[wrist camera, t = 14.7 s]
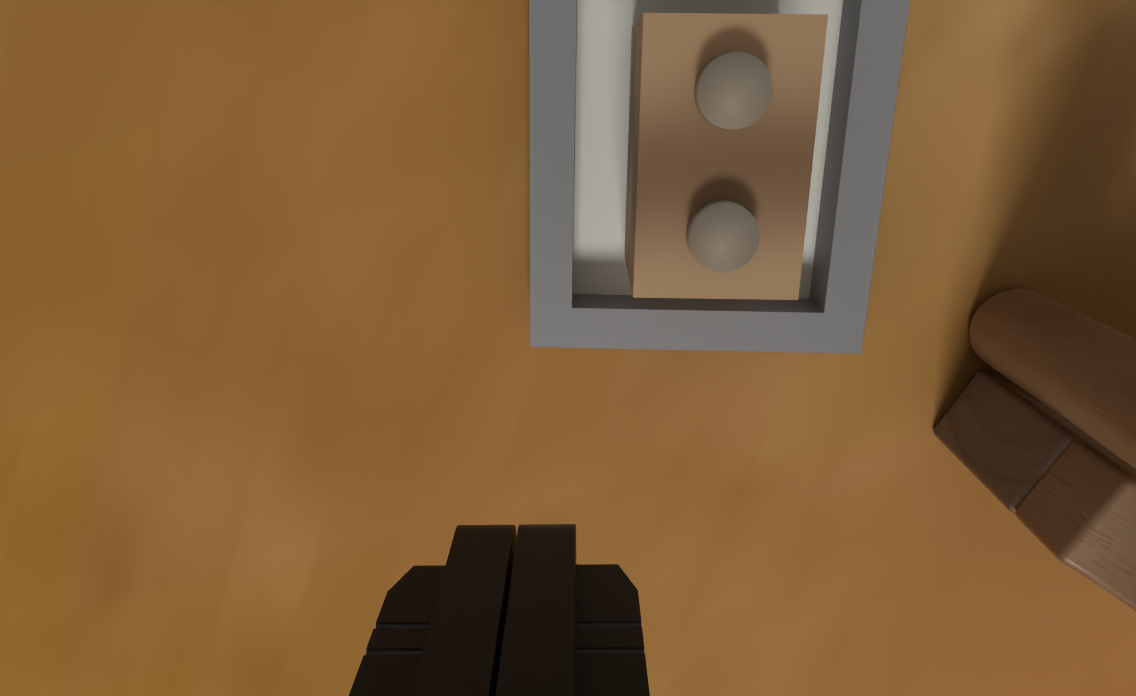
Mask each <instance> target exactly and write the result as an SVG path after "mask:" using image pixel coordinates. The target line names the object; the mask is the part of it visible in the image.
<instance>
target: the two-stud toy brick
mask: <svg viewBox="0 0 1136 696" xmlns="http://www.w3.org/2000/svg"><path fill="white" fill-rule="evenodd" d="M827 21H828V14H724V13H643V14H642V15H641V17H640V18H639V19H638V20H637V22H636V23H635V24H634V26H633V27H632V37H631V68H630V98H629V129H628V160H627V191H626V222H625V253H624V257H625V262H626V267H627V272H628V276H629V281H630V286H631V291H632V295H633V298H697V299H762V300H798V298H799V288H800V278H801V269H802V259H803V250H804V240H805V231H806V221H807V212H808V202H809V193H810V183H811V173H812V164H813V154H814V145H815V135H816V126H817V116H818V107H819V97H820V88H821V78H822V69H823V59H824V49H825V40H826V30H827Z"/></svg>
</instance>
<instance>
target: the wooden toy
mask: <svg viewBox="0 0 1136 696" xmlns="http://www.w3.org/2000/svg"><path fill="white" fill-rule="evenodd" d="M969 336H970V343H971V346H972V348H973V350H974V352H975V354H976V356H978V357H979V358H980V359H981V360H982V361H984V362H985V363H986V364H988V365H989V366H990V367H992V368H993V369H995V370H996V371H997V372H999V373H1000V374H1002V375H1003V376H1005V377H1006V378H1007V379H1009V380H1010V381H1012V382H1013V383H1015V384H1016V385H1017V386H1019V387H1020V388H1022V389H1023V390H1024V391H1026V392H1027V393H1029V394H1030V395H1032V396H1033V397H1034V398H1036V399H1037V400H1039V401H1040V402H1042V403H1043V404H1042V403H1040V402H1039V401H1037V400H1035V399H1033V398H1032V397H1030V396H1028V395H1026V394H1025V393H1023V392H1021V391H1019V390H1018V389H1016V388H1014V387H1012V386H1011V385H1009V384H1007V383H1005V382H1004V381H1002V380H1000V379H998V378H997V377H995V376H993V375H991V374H990V373H988V372H985V371H979V372H978V373H976V375H975V376H974V377H973V379H972V380H971V381H970V382H969V384H968V385H967V386H966V388H965V389H964V390H963V391H962V393H961V394H960V395H959V397H958V398H957V399H956V401H955V402H954V403H953V404H952V406H951V407H950V408H949V410H948V411H947V412H946V414H945V415H944V416H943V417H942V419H941V420H940V421H939V423H938V424H937V425H936V426H935V428H934V431H933V432H934V434H935V435H936V437H937V438H938V439H939V440H940V441H941V442H942V443H943V444H944V445H945V446H946V447H947V448H948V449H949V450H950V451H951V452H952V453H953V454H954V455H955V456H956V457H957V458H958V459H959V460H960V461H961V462H962V463H963V464H964V465H965V466H966V467H967V468H968V469H969V470H970V471H971V472H972V473H973V474H974V475H975V476H976V477H977V478H978V479H979V480H980V481H981V482H982V483H983V484H984V486H985V487H986V488H987V489H988V490H989V491H990V492H991V493H992V494H993V495H994V496H995V497H996V498H997V499H998V500H999V501H1000V502H1001V503H1002V504H1003V505H1004V506H1005V507H1006V508H1007V509H1008V510H1009V511H1011V512H1012V513H1014V514H1016V516H1017V518H1018V519H1019V520H1020V521H1021V522H1022V523H1023V524H1024V525H1025V526H1026V527H1027V528H1028V529H1029V530H1030V531H1031V532H1032V533H1033V534H1034V535H1035V536H1036V537H1037V538H1038V539H1039V540H1040V541H1041V542H1042V543H1043V544H1044V545H1045V546H1046V547H1047V548H1048V549H1049V550H1050V551H1051V552H1052V553H1053V554H1054V555H1055V557H1056V558H1057V559H1058V560H1059V561H1061V562H1062V563H1064V564H1066V565H1067V566H1069V567H1071V568H1072V569H1074V570H1076V571H1077V572H1079V573H1080V574H1082V575H1084V576H1085V577H1087V578H1088V579H1090V580H1091V581H1093V582H1094V583H1095V584H1097V585H1098V586H1100V587H1101V588H1103V589H1104V590H1106V591H1107V592H1109V593H1110V594H1112V595H1113V596H1114V597H1116V598H1117V599H1119V600H1120V601H1122V602H1123V603H1125V604H1126V605H1128V606H1129V607H1130V608H1132V609H1133V610H1135V611H1136V338H1134V337H1132V336H1129V335H1127V334H1125V333H1123V332H1121V331H1119V330H1117V329H1114V328H1112V327H1110V326H1108V325H1106V324H1104V323H1102V322H1099V321H1097V320H1095V319H1093V318H1091V317H1089V316H1087V315H1084V314H1082V313H1080V312H1078V311H1076V310H1074V309H1071V308H1069V307H1067V306H1065V305H1063V304H1061V303H1059V302H1056V301H1054V300H1052V299H1050V298H1048V297H1046V296H1044V295H1041V294H1039V293H1037V292H1034V291H1031V290H1029V289H1010V290H1006V291H1002V292H999V293H997V294H995V295H993V296H991V297H990V298H988V299H986V300H985V301H984V302H983V303H982V304H981V305H980V306H979V307H978V308H977V310H976V312H975V314H974V316H973V317H972V319H971V324H970V329H969Z"/></svg>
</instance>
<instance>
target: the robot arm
mask: <svg viewBox="0 0 1136 696" xmlns="http://www.w3.org/2000/svg"><path fill="white" fill-rule="evenodd" d="M349 696H650V695H649V686H648V677H647V668H646V659H645V654H644V641H643V633H642V627H641V615H640V606H639V597H638V590H637V589H636V587H635V586H634V585H633V583H632V582H631V581H630V580H629V578H628V577H627V576H626V574H625V573H624V572H623V570H622V569H621V568H620V567H619V565H618V564H609V565H576V525H575V524H548V525H519V527H518V533H517V534H516V527H515V525H458V526H457V528H456V530H455V534H454V537H453V541H452V545H451V548H450V552H449V556H448V559H447V563H446V566H413V567H412V568H411V569H410V570H409V571H408V572H407V573H406V574H405V575H404V576H403V577H402V578H401V579H400V580H399V581H398V582H397V583H396V584H395V585H394V586H393V587H392V588H391V589H390V590H389V591H388V592H387V595H386V597H385V600H384V603H383V605H382V608H381V611H380V613H379V616H378V619H377V621H376V629H374V630H373V632H372V635H371V638H370V640H369V643H368V646H367V648H366V655H364V656H363V659H362V662H361V664H360V667H359V670H358V673H357V675H356V678H355V681H354V683H353V686H352V689H351V691H350V694H349Z"/></svg>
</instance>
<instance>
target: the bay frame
mask: <svg viewBox="0 0 1136 696" xmlns="http://www.w3.org/2000/svg"><path fill="white" fill-rule="evenodd" d="M909 3H910V0H529V58H530V347H559V348H608V349H657V350H707V351H756V352H805V353H854V354H861V350H862V343H863V336H864V329H865V321H866V314H867V307H868V300H869V292H870V285H871V278H872V271H873V263H874V256H875V249H876V242H877V235H878V227H879V220H880V213H881V206H882V198H883V191H884V184H885V177H886V169H887V162H888V155H889V148H890V140H891V133H892V126H893V119H894V111H895V104H896V97H897V90H898V82H899V75H900V68H901V61H902V54H903V46H904V39H905V32H906V25H907V17H908V10H909ZM643 13H724V14H828V21H827V30H826V40H825V49H824V59H823V69H822V78H821V88H820V97H819V107H818V116H817V126H816V135H815V145H814V154H813V164H812V173H811V183H810V193H809V202H808V212H807V221H806V231H805V240H804V250H803V259H802V269H801V278H800V288H799V298H798V300H762V299H697V298H633V295H632V291H631V286H630V281H629V276H628V272H627V267H626V262H625V257H624V253H625V222H626V191H627V160H628V129H629V98H630V68H631V37H632V27H633V26H634V24H635V23H636V22H637V20H638V19H639V18H640V17H641V15H642V14H643Z"/></svg>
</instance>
